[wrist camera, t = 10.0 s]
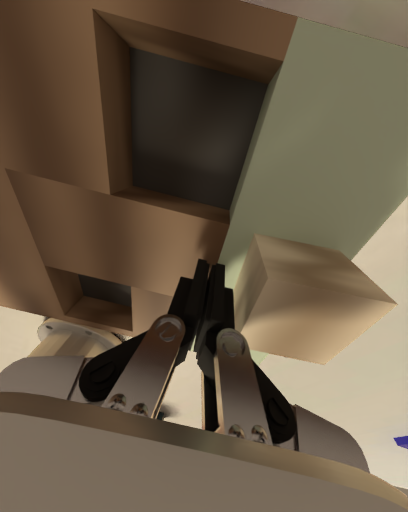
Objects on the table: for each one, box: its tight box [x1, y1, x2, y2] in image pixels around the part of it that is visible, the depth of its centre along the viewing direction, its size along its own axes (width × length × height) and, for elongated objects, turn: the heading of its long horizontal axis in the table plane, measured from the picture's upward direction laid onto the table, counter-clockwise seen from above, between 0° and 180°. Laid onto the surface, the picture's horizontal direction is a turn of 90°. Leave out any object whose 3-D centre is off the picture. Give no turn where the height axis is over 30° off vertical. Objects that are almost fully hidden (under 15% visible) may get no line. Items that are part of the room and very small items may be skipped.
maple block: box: [233, 233, 398, 365], centre depth 9 cm, size 5×5×4 cm
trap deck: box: [0, 0, 298, 337], centre depth 13 cm, size 20×22×3 cm
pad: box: [190, 17, 408, 365], centre depth 13 cm, size 8×22×3 cm, turn 168°
